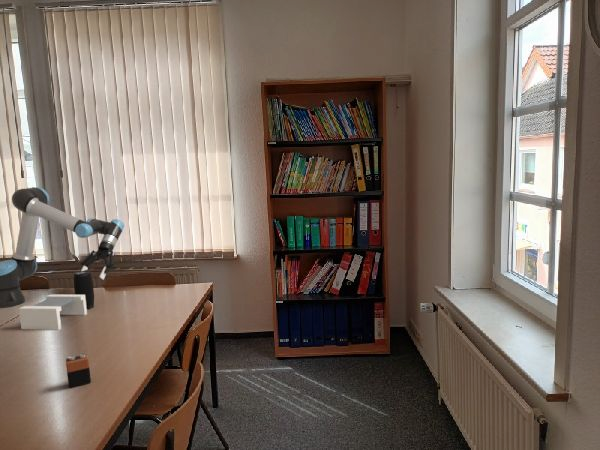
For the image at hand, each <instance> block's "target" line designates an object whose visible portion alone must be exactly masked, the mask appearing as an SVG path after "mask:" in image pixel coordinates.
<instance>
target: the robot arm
mask: <svg viewBox="0 0 600 450" xmlns="http://www.w3.org/2000/svg"><path fill="white" fill-rule="evenodd" d="M49 202H50V195H49V193H48V192H47V190H45V189H43V188H42V187H35V186H33V187H28V188H26V187H25V188H20V189H17V190H16V191H14V192H13V193H12V195H11V203H12V205H13V206H14V208H16V209H17V210H18V211H20V212H21V213H22V214H21V218H20V226H19V232H18V235H17V240H16V241H17V242H16V247H15V252H14V253H13V254H12V255H11V259H5V260H2V261H0V308H9V307H15V306H19V305H21V304H23V303H26V298H25V297H26V296H25V295H24V294H23V291H22V290H21V286H20V281H22V280H24V279H28V278H30V277H31V276H33V275H34V274H35V273H36V272H37V269H38V263H37V261H36V256H35V254H34V248H35V245H36V244H35V243H36V238H37V231H38V225H39V219H40V218H42V219H43V220H46V221H48V222H51V223H53V224H54V225H57V226H59V227H61V228H64V229H66V230H69V231H70V232H73V233H75V235H76V236H77V237H78V238H81V239H84V238H85V239H86V238H89V237H91V236H94V235H97V234H100V235H103V236H102V239H101V242H100V243H99V245H98V247H97V248H98V249H97V250H96V251H95V250H91V252H90V253H89V254H88V256H87V257H85V258H84V260H82V262H80V265H81V269H80V271H84V270H89V269H88V267H89V266H91V265H92V264H94V263H95V262H96V261H99V260H102V261H104V263H105V266H104V267H103V269H102V270H101V272H100V274H99V278H100V279H101V280H102V281H103V280H105V278H106V276H107V274H108V273H109V270H111V269H113V268H114V267H115V256H116V253H115V252H114V251H113V250H114V248H115V247H116V244H117V242H118V240H119V238H120V236H121V234H122V233H123V230H124V227H125V223H124V222H123V221H122V220H120V219H118V218H117V219H116V218H115V219H114V218H113V219H112V220H111V221H105V220H100V219H97V218H87V220H86V221H85V220H83V219H80V218H78V217H75V216H73V215H71V214H69V213H67V212H64V211H62V210H60V209H58V208H55V207H53V206H51V205H49Z"/></svg>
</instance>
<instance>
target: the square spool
mask: <svg viewBox="0 0 600 450" xmlns="http://www.w3.org/2000/svg"><path fill="white" fill-rule="evenodd" d="M18 313H19V321H20V327H21V330H38V331H39V330H45V331H48V330H51V331H60V330H61V329H62V322H61V316H86V315H88V308H86V299H85V295H75V294H58V293H57V294H48V295H46V296H45V299H44V300H43V301H41V302H38V303H36V304H34V305H24V306H21V307H19V308H18Z"/></svg>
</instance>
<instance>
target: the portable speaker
mask: <svg viewBox="0 0 600 450" xmlns="http://www.w3.org/2000/svg"><path fill="white" fill-rule="evenodd" d="M73 290H74V295H85V299H86V308H87V309H90V310H91V309H93V308H94V307H95V291H94V281H93V277H92V273H91V270H89V269H87V270H84V271H81V270H80V271H74V272H73Z"/></svg>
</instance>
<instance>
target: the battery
mask: <svg viewBox="0 0 600 450" xmlns="http://www.w3.org/2000/svg"><path fill="white" fill-rule="evenodd" d="M65 366H66V374H67V383H68V387H69V389H71V388H76V387H80V386H84V385H88V384H91V382H92V379H91V370H90V361H89V356H88V354H87V353H86V354H85V353H82V354H79V355H77V356H76V355H70V356H68V357H67V358H65Z"/></svg>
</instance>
